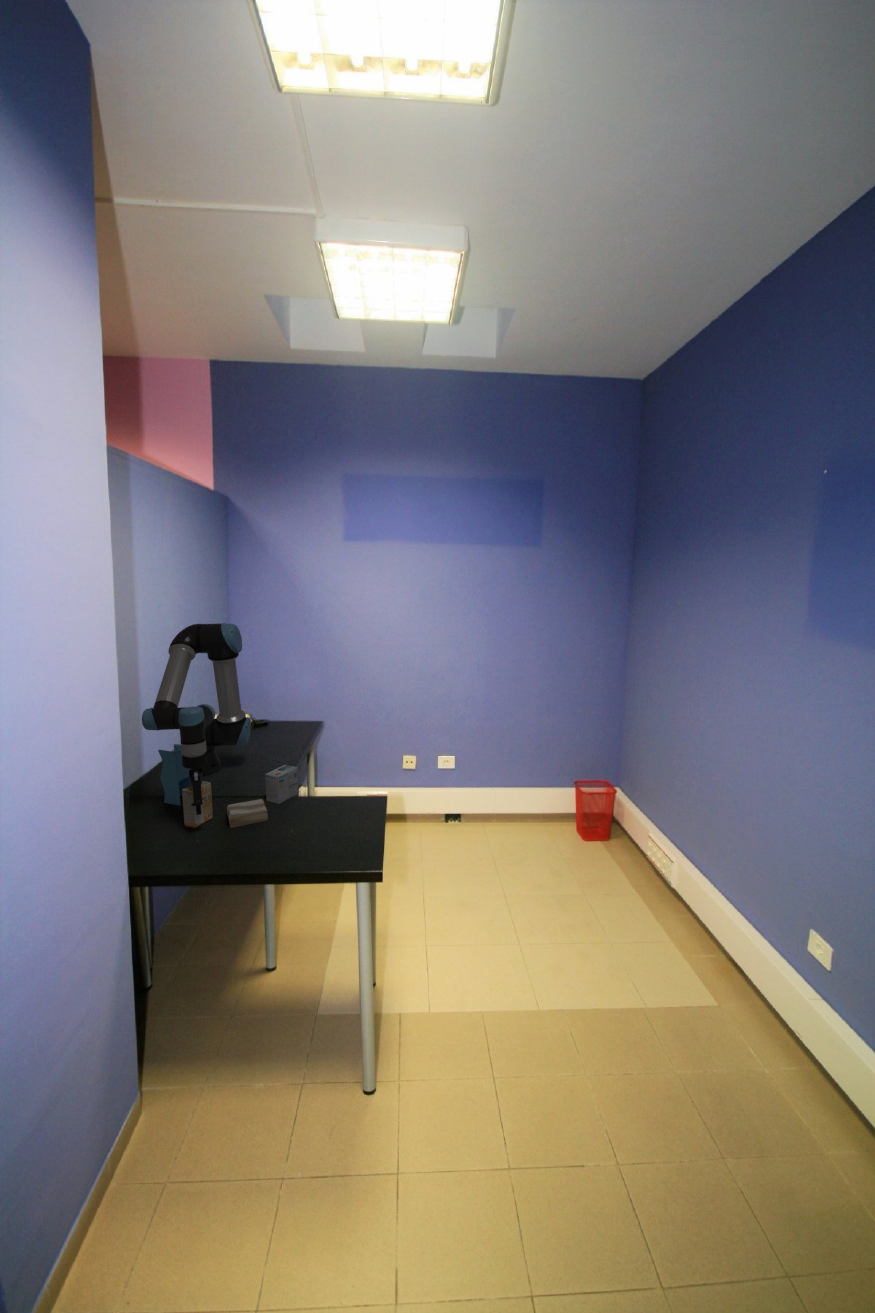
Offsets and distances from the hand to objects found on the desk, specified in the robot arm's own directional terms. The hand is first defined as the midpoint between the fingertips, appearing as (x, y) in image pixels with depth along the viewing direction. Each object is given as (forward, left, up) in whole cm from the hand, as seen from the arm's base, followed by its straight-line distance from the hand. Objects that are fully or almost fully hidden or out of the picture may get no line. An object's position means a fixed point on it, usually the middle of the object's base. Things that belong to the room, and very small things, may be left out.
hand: (198, 814), depth 176 cm
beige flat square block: (+4, +15, -3) cm, 16 cm away
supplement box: (0, 0, -3) cm, 3 cm away
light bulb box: (-8, +29, -3) cm, 30 cm away
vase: (-23, -6, -3) cm, 24 cm away
